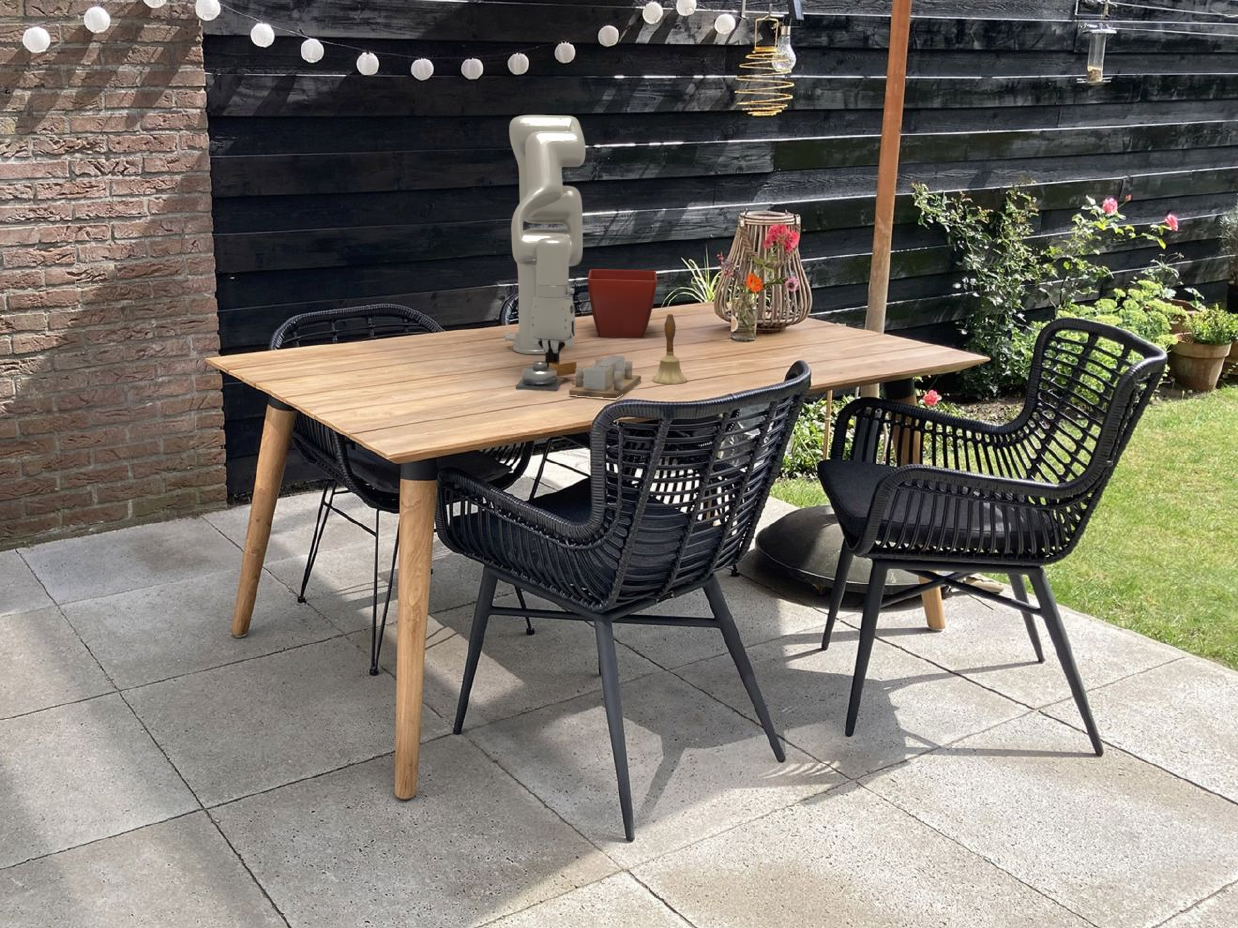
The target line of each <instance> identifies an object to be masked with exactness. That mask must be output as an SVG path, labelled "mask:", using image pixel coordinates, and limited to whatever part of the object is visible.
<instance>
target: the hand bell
mask: <svg viewBox="0 0 1238 928" xmlns="http://www.w3.org/2000/svg"><path fill="white" fill-rule="evenodd" d="M675 334H676V321H675V318H674V314H672V313H669V314H667V315H666V319H665V323H664V335H665V339H666V346H665V347H666V350H665V351H666V355H664V356H663V357H661V358H660V361H659V368H658V370H657V372H656V374H655V375H654V376H653V377H652V379H651V380H652V383H656V384H661V385H680V384H685V383H687V381H688V380H687V377H686V376H684V374H683V372H682V369H681V365H680V358H678V357H677V356H675V355H674V338H675V336H676V335H675Z"/></svg>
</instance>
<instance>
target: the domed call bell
mask: <svg viewBox="0 0 1238 928" xmlns="http://www.w3.org/2000/svg"><path fill="white" fill-rule="evenodd" d="M577 366H578V365H577V361H576V360H573V359H563V360H559V361H556V362H550V363H549V367H547V362H546V361H545V360H536V361H535V360H534V361H532V366H528V367H524V368H523V369H522V378H523V382H525V383H530V384H550V383H555V382H556V381H557V378H558V377H563V376H567V375H569V376H570V375H572V374H574V375H575V374H576V368H578V367H577Z"/></svg>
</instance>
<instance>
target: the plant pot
mask: <svg viewBox="0 0 1238 928" xmlns="http://www.w3.org/2000/svg"><path fill="white" fill-rule="evenodd" d="M586 280H587V289H588V290H587V291H588V294H589V295H588V297H589V303H590V307H591V314H592V319H593V322H594V326H595V329H596V332H597V335H598V337H599V338H631V339H632V338H634V339H636V338H637V339H638V338H640V339H641V338H644V337H645V335H646V332H647V329H648V326H649V322H650V319H651V314H652V312H653V307H654V302H655V297H656V292H657V284H658V278H657V271H656V270H640V269H639V270H638V269H637V270H635V269H632V270H631V269H601V268H600V269H599V268H598V269H596V268H595V269H589V273H588V277H587V279H586Z"/></svg>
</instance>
